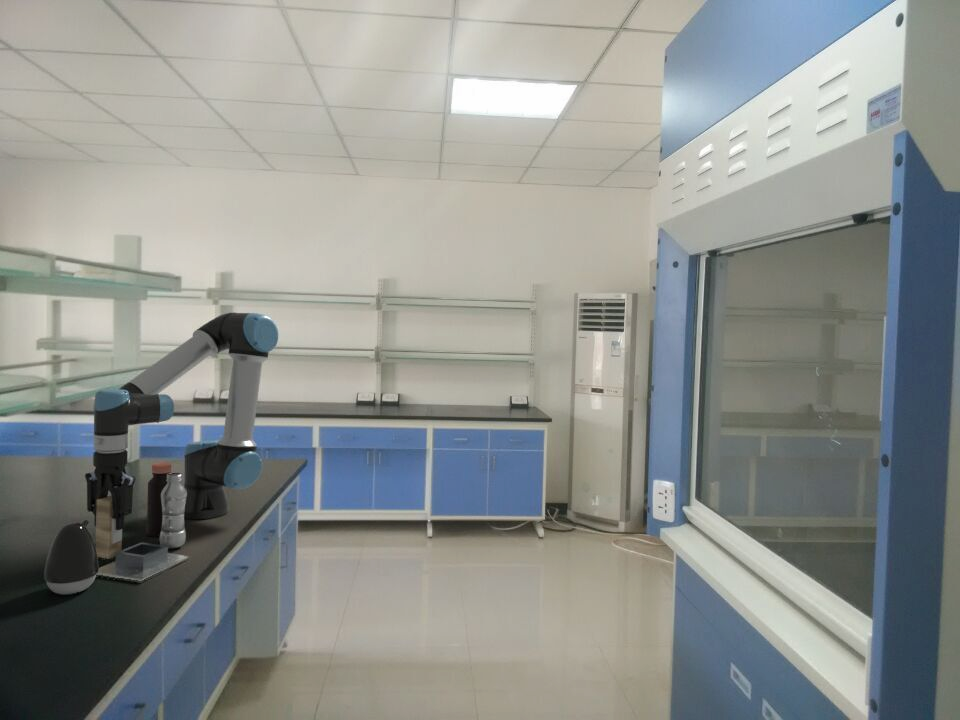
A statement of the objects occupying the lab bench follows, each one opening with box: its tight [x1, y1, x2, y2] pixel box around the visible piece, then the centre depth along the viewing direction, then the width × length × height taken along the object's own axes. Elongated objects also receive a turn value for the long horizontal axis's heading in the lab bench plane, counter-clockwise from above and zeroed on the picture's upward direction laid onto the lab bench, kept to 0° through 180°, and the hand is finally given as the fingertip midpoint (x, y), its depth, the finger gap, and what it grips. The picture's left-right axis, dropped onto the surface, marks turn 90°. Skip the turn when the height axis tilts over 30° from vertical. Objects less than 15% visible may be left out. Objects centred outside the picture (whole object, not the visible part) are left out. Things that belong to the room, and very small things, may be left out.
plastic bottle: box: [159, 472, 187, 550], centre depth 167 cm, size 6×7×20 cm
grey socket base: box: [96, 541, 190, 581], centre depth 153 cm, size 16×14×4 cm
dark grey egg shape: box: [43, 519, 100, 596], centre depth 139 cm, size 10×10×15 cm
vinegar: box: [146, 462, 172, 537], centre depth 177 cm, size 7×7×20 cm
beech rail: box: [95, 495, 123, 559], centre depth 159 cm, size 4×4×15 cm
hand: (108, 540), depth 159 cm, fingers closed on beech rail, 4 cm apart
